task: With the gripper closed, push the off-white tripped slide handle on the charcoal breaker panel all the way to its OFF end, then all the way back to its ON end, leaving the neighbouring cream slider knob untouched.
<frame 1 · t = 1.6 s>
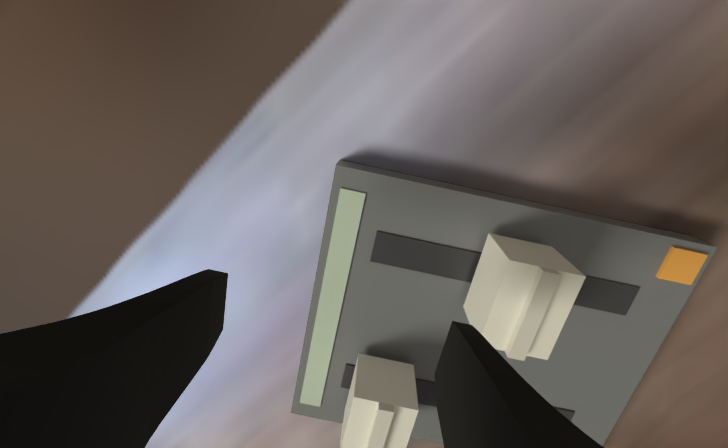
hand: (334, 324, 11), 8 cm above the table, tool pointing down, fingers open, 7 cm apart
tripped breaker: (518, 295, 16), point 4 cm above the table, slide at 0.0 cm
cream slider knob: (377, 413, 18), point 4 cm above the table, slide at 4.5 cm
breaker panel: (471, 323, 20), on the table
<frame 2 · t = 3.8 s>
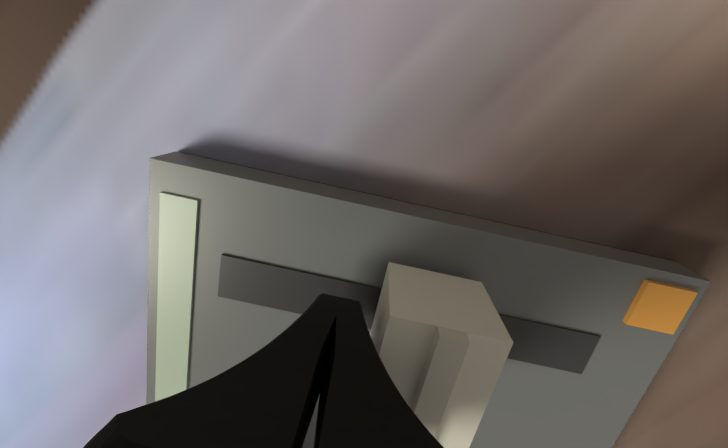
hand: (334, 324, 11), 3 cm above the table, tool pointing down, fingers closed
tripped breaker: (424, 359, 10), point 4 cm above the table, slide at -0.4 cm, touching gripper
breaker panel: (381, 374, 15), on the table
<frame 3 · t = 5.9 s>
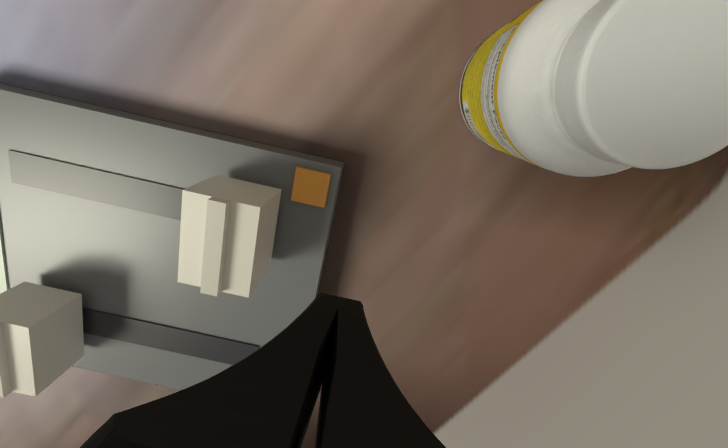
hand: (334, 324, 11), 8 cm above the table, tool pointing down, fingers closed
supplement bottle: (514, 89, 17), on the table
tripped breaker: (230, 234, 16), point 4 cm above the table, slide at -5.1 cm
cream slider knob: (26, 339, 18), point 4 cm above the table, slide at 4.5 cm
breaker panel: (160, 257, 20), on the table
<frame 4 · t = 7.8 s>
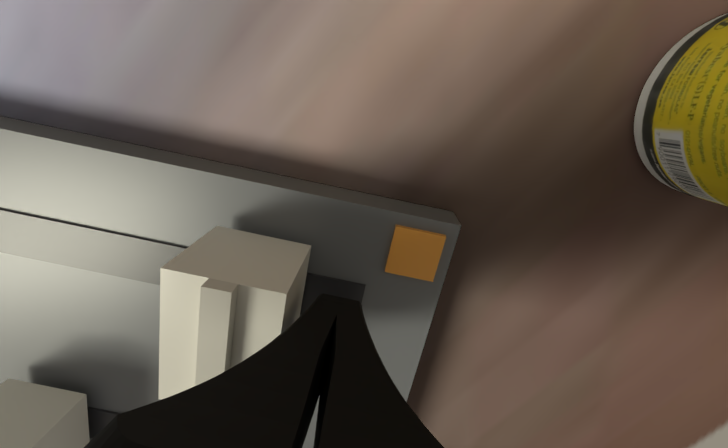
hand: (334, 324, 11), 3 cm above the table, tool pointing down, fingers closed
supplement bottle: (713, 106, 11), on the table
tripped breaker: (237, 320, 10), point 4 cm above the table, slide at -3.0 cm, touching gripper
breaker panel: (191, 335, 15), on the table
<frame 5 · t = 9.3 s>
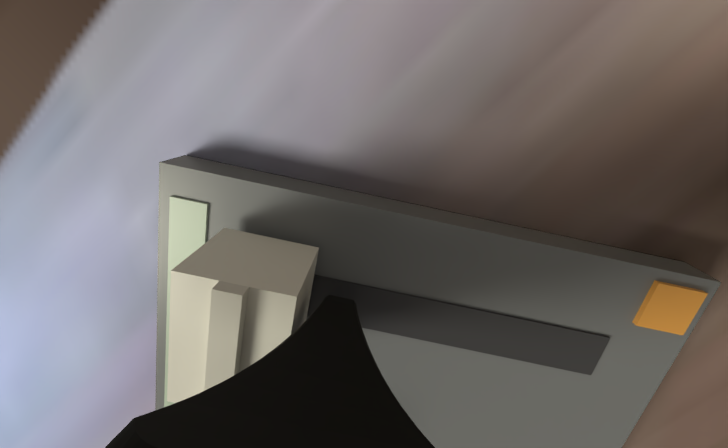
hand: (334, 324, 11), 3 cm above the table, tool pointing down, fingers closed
tripped breaker: (246, 322, 10), point 4 cm above the table, slide at 5.2 cm, touching gripper
breaker panel: (389, 376, 15), on the table
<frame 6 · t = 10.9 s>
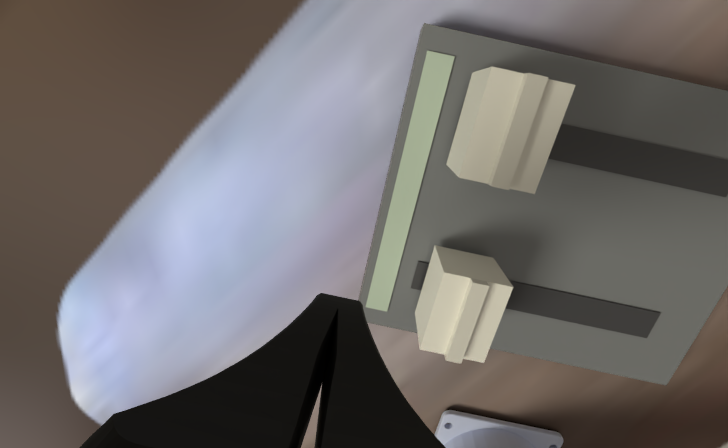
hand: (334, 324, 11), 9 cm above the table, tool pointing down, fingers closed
tripped breaker: (503, 130, 14), point 4 cm above the table, slide at 5.1 cm
cream slider knob: (459, 303, 17), point 4 cm above the table, slide at 4.5 cm
breaker panel: (549, 220, 19), on the table
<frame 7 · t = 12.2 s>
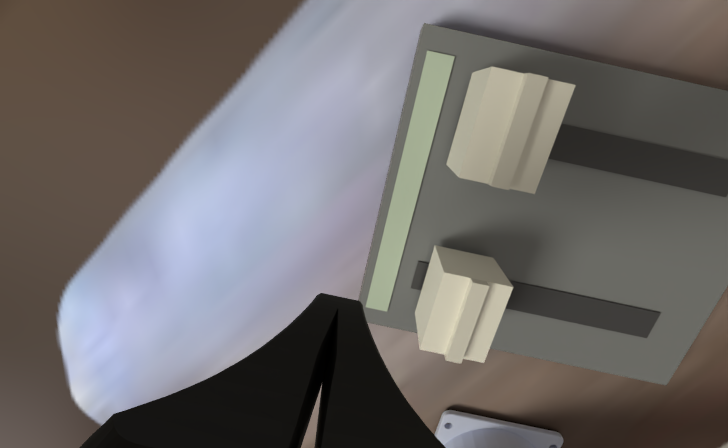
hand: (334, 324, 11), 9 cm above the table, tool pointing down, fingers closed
tripped breaker: (503, 130, 14), point 4 cm above the table, slide at 5.1 cm
cream slider knob: (459, 303, 17), point 4 cm above the table, slide at 4.5 cm
breaker panel: (549, 220, 19), on the table
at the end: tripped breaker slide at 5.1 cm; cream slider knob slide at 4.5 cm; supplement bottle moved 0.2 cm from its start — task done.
